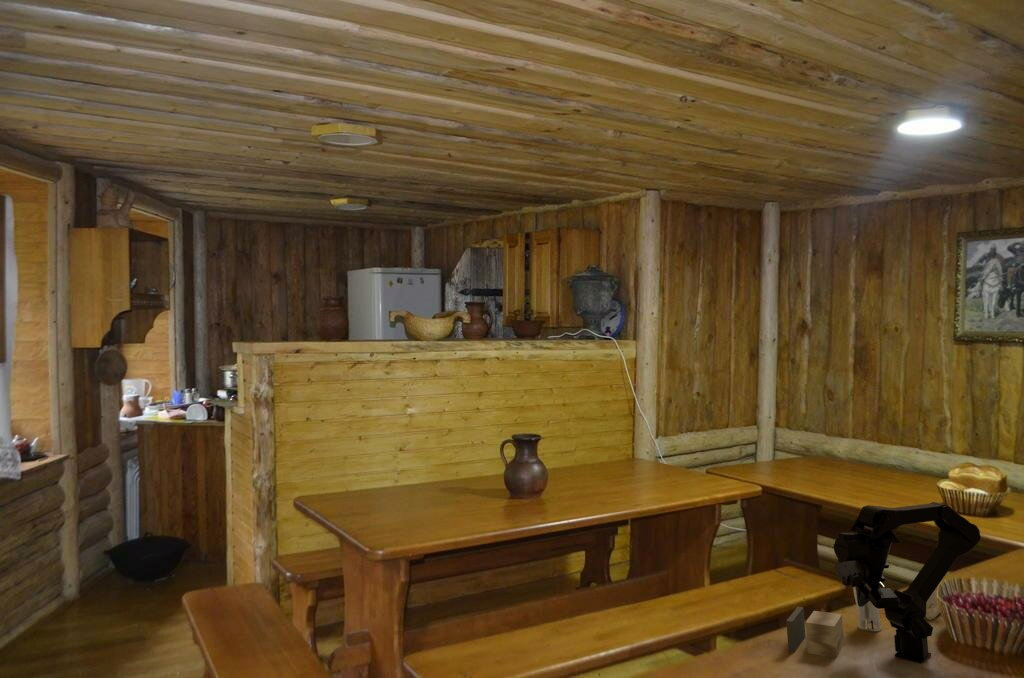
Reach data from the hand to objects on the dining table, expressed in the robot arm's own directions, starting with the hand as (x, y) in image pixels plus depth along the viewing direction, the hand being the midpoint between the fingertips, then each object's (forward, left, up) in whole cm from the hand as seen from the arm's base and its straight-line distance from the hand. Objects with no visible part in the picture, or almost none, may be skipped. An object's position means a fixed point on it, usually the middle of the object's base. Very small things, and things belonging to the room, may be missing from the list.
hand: (860, 605), depth 193 cm
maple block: (+8, +5, -12) cm, 15 cm away
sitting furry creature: (-2, -37, -12) cm, 39 cm away
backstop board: (+14, +7, -11) cm, 20 cm away
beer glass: (+5, -16, -12) cm, 20 cm away
